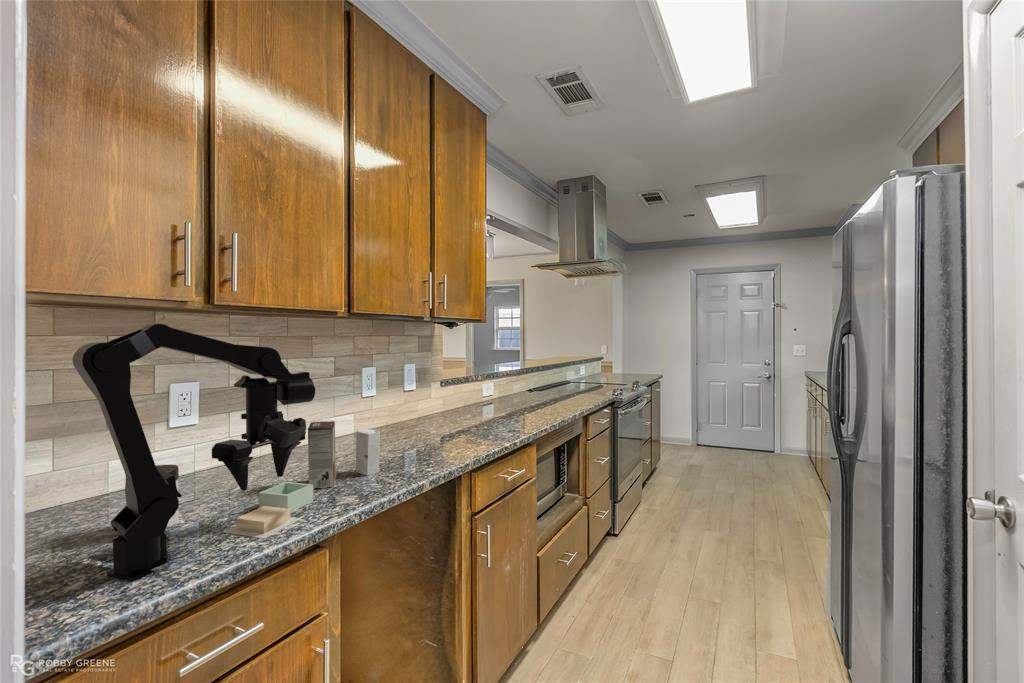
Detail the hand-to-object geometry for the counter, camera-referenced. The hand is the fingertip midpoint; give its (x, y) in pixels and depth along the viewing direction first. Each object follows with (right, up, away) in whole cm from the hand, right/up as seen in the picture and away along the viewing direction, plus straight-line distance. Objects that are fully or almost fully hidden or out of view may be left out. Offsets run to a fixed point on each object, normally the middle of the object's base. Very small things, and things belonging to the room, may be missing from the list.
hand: (262, 483), depth 95 cm
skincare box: (+10, -9, +39) cm, 41 cm away
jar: (-23, -10, +2) cm, 25 cm away
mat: (0, -9, 0) cm, 9 cm away
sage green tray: (-1, -9, +11) cm, 15 cm away
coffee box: (0, -9, +29) cm, 30 cm away
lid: (0, -9, 0) cm, 9 cm away
